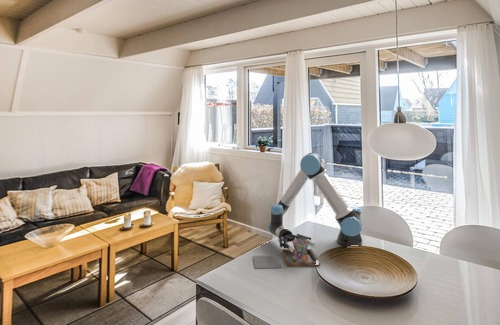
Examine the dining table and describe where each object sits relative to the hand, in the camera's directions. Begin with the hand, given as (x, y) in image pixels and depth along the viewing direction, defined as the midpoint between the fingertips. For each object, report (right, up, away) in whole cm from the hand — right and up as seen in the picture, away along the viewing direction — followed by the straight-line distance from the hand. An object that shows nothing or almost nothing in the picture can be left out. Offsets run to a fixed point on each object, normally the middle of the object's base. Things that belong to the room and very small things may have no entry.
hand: (303, 247), depth 159 cm
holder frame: (-1, -8, +4) cm, 9 cm away
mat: (-20, -8, 0) cm, 22 cm away
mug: (-1, -8, +4) cm, 9 cm away
